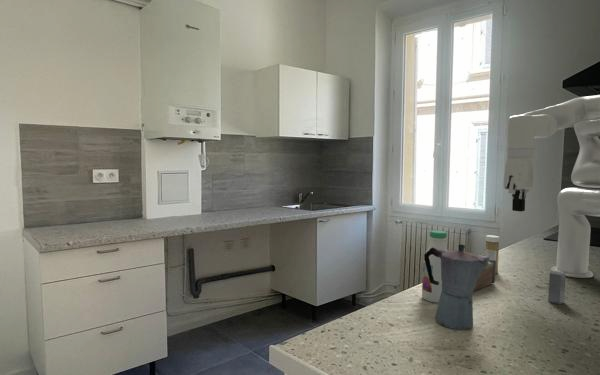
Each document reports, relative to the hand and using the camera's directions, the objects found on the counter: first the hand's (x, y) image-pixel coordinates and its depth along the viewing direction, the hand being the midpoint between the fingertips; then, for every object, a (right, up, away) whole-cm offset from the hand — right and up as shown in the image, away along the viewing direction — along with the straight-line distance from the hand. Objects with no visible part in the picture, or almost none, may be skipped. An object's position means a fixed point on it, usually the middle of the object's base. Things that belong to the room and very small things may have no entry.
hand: (518, 210), depth 128 cm
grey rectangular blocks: (-3, -25, -4) cm, 25 cm away
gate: (-14, -24, -2) cm, 28 cm away
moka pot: (-33, -27, -29) cm, 51 cm away
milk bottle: (-31, -25, -12) cm, 42 cm away
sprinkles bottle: (-1, -24, +17) cm, 29 cm away
